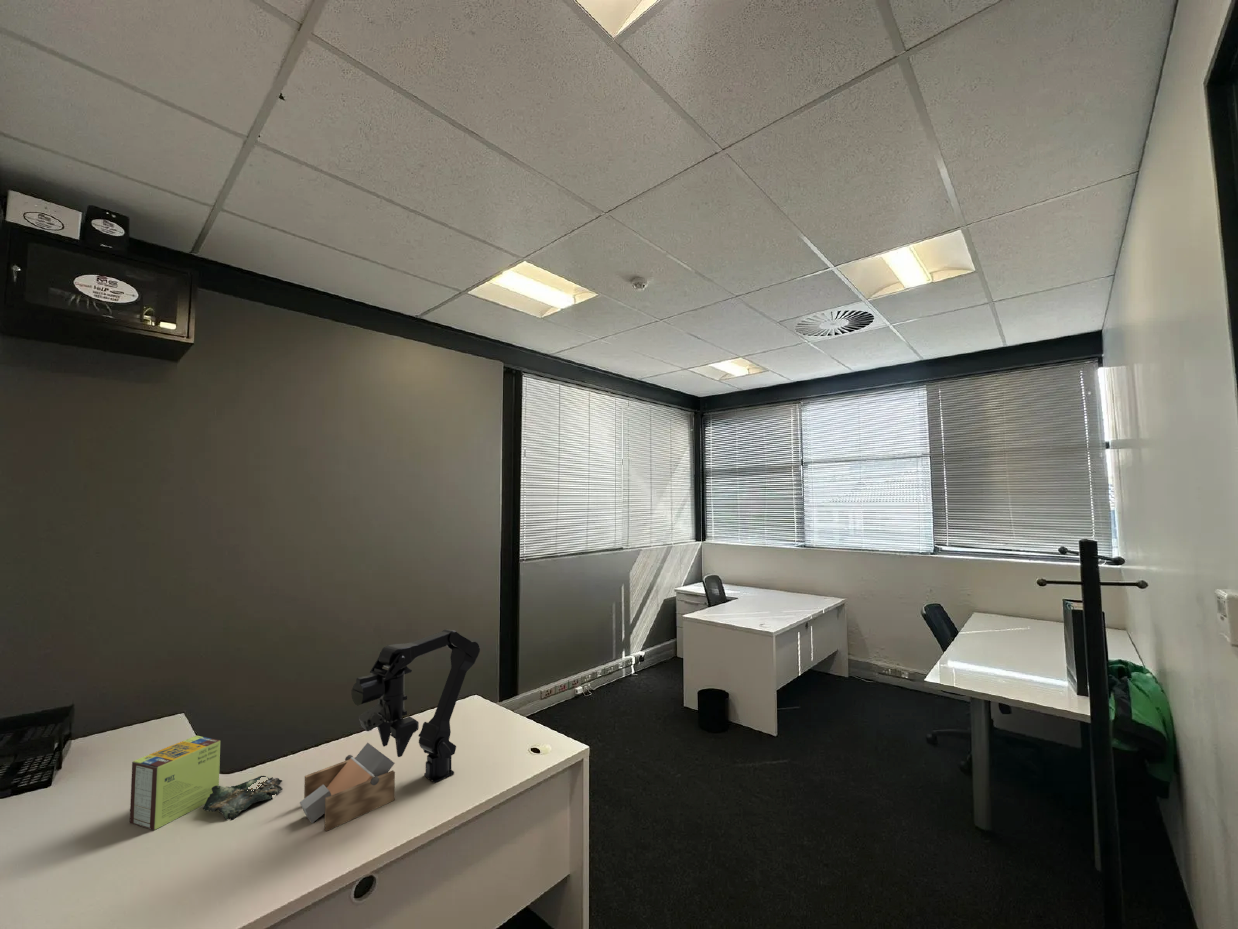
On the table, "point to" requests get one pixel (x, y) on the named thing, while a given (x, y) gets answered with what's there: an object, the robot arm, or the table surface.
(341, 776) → the trapdoor
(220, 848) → the table surface
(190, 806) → the protein box
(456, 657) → the robot arm
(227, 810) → the decorative rock
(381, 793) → the trapdoor frame
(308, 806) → the stone
